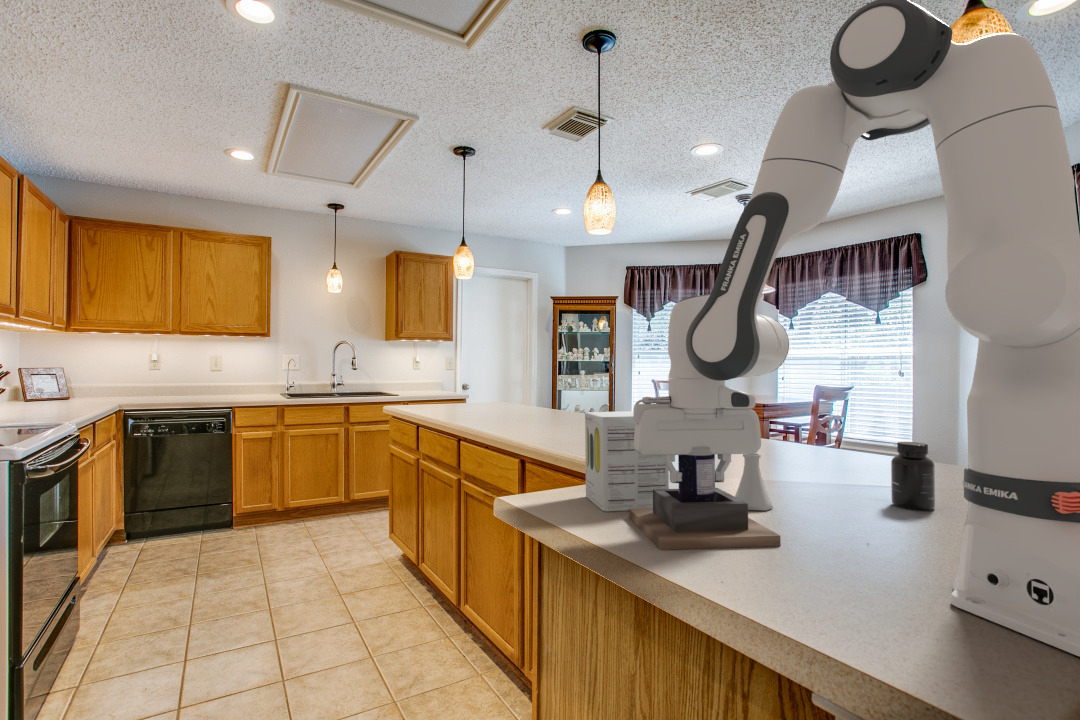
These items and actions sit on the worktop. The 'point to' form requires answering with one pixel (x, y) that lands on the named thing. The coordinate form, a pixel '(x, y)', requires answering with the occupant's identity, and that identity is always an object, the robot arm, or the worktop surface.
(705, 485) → the beverage can
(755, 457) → the flask
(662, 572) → the worktop surface
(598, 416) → the supplement box
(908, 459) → the supplement bottle
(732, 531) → the square holder on base
